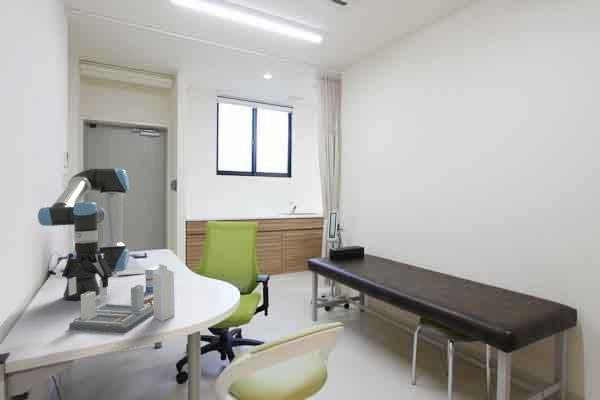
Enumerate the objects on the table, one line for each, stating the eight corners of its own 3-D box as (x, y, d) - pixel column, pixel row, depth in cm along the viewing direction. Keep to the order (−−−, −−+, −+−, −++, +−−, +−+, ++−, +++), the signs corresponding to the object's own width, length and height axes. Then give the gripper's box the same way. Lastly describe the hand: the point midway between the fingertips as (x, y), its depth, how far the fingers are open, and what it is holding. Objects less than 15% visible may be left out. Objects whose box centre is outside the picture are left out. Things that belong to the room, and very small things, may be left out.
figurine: (130, 314, 138) (165, 300, 146) (127, 304, 138) (163, 291, 145) (130, 311, 142) (164, 298, 149) (127, 302, 141) (162, 289, 148)
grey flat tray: (69, 328, 119) (69, 320, 119) (108, 308, 139) (108, 301, 139) (126, 332, 116) (126, 323, 116) (158, 311, 136) (157, 303, 136)
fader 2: (131, 311, 130) (130, 287, 129) (137, 308, 134) (137, 284, 133) (137, 312, 129) (137, 287, 129) (144, 308, 133) (143, 284, 133)
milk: (167, 313, 134) (166, 262, 133) (174, 316, 131) (174, 264, 130) (153, 317, 129) (152, 265, 129) (161, 321, 126) (160, 267, 125)
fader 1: (81, 320, 122) (80, 294, 121) (89, 315, 126) (88, 291, 125) (88, 320, 121) (87, 294, 121) (96, 316, 125) (95, 291, 125)
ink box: (153, 292, 160) (153, 269, 160) (145, 291, 161) (144, 269, 161) (164, 287, 169) (163, 265, 168) (156, 286, 170) (155, 265, 169)
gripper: (49, 242, 120) (51, 296, 121) (107, 243, 117) (109, 299, 117) (66, 239, 128) (68, 290, 128) (122, 240, 124) (123, 292, 125)
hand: (87, 295), depth 123 cm, fingers open, 13 cm apart
